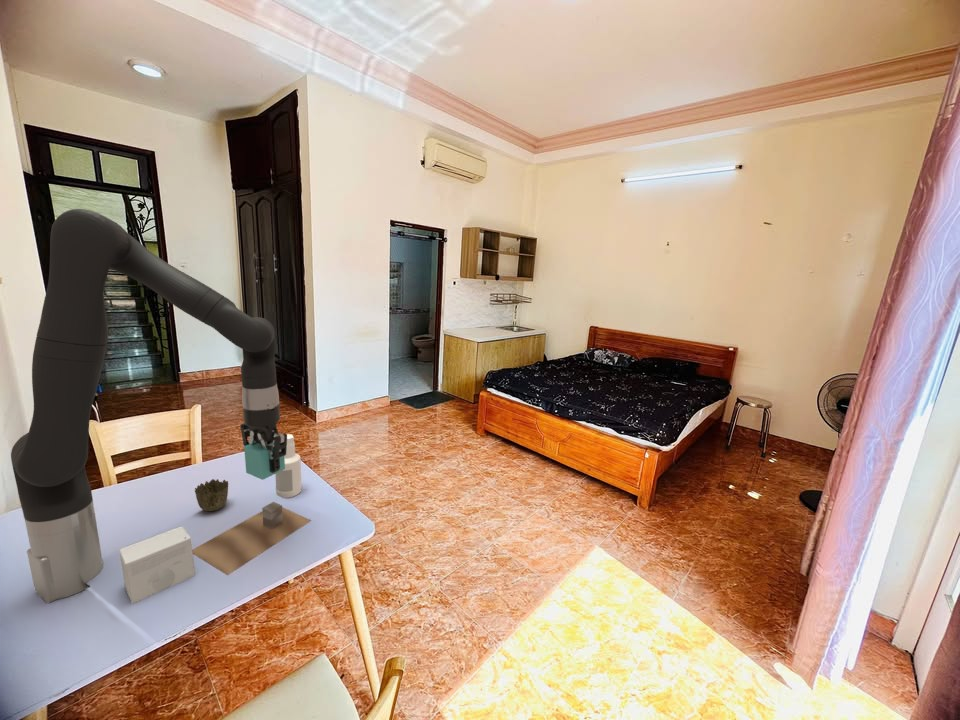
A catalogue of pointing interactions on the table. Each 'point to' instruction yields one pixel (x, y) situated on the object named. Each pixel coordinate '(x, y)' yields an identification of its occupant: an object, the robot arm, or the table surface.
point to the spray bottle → (289, 472)
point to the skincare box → (157, 563)
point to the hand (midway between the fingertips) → (266, 467)
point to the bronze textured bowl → (212, 494)
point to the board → (250, 538)
